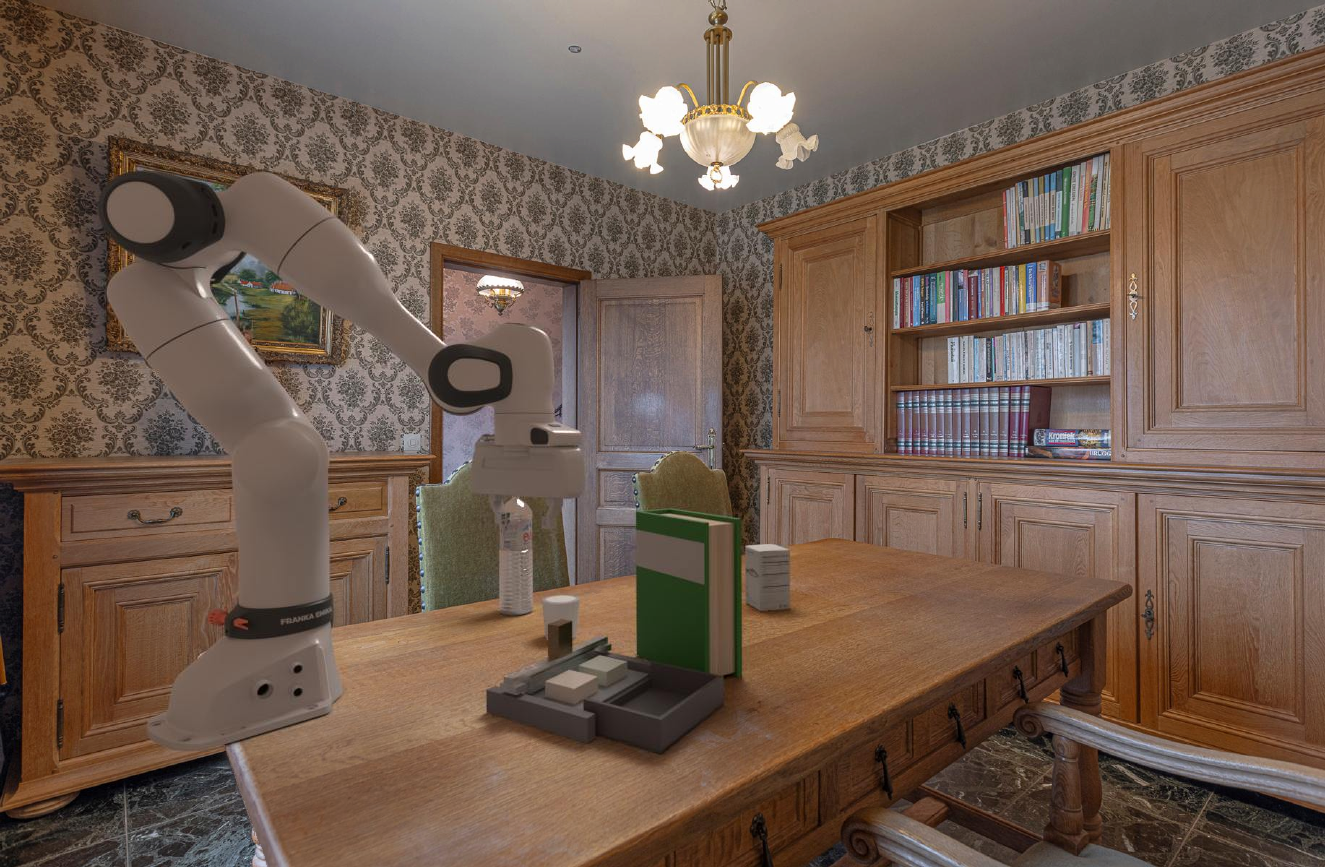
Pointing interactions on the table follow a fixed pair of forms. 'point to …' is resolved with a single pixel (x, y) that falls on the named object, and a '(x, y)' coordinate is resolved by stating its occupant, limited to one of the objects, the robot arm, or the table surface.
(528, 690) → the bar
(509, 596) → the water bottle
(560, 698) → the cream tile
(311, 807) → the table surface
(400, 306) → the robot arm
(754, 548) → the supplement box
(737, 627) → the hardback book
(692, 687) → the box
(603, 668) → the sage tile
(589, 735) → the grey railed tray
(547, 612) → the white cup
